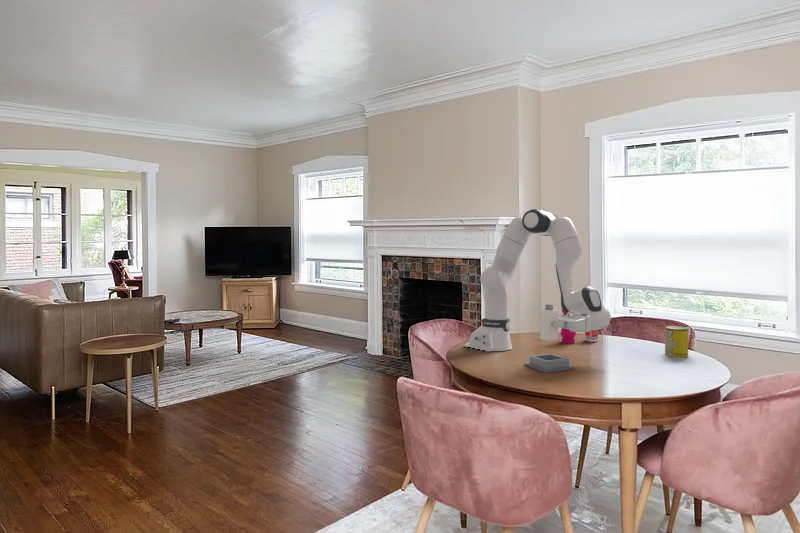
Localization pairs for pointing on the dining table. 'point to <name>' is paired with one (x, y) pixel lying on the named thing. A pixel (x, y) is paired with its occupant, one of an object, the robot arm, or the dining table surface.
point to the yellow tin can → (676, 341)
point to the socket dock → (549, 363)
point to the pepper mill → (567, 334)
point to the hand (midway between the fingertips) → (547, 323)
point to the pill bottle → (591, 336)
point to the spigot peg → (548, 323)
